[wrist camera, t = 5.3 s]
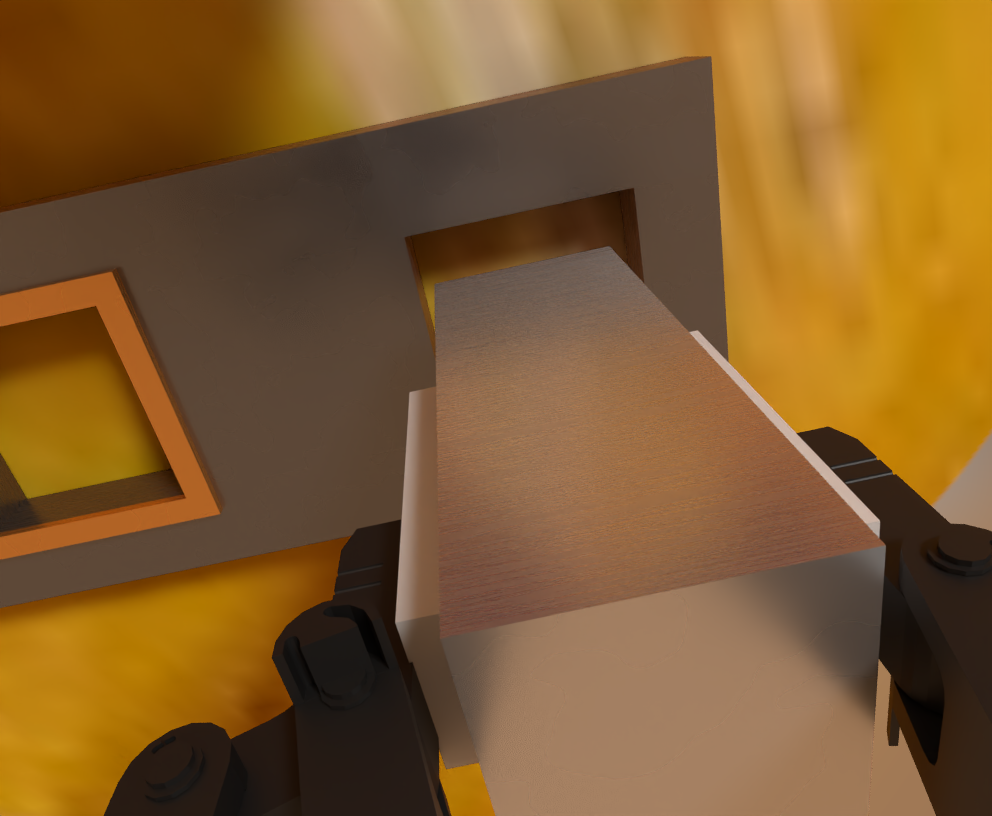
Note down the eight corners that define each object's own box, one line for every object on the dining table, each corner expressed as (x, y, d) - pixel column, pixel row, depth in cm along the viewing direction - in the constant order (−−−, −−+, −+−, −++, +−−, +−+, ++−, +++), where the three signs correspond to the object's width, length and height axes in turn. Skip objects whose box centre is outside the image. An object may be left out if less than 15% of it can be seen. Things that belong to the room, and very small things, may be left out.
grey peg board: (3, 575, 26) (-35, 620, 24) (-205, 252, 21) (-277, 274, 19) (712, 429, 25) (737, 461, 23) (687, 57, 20) (715, 56, 18)
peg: (471, 436, 20) (520, 894, 9) (434, 284, 18) (439, 639, 7) (629, 402, 20) (868, 824, 9) (609, 246, 18) (885, 545, 7)
